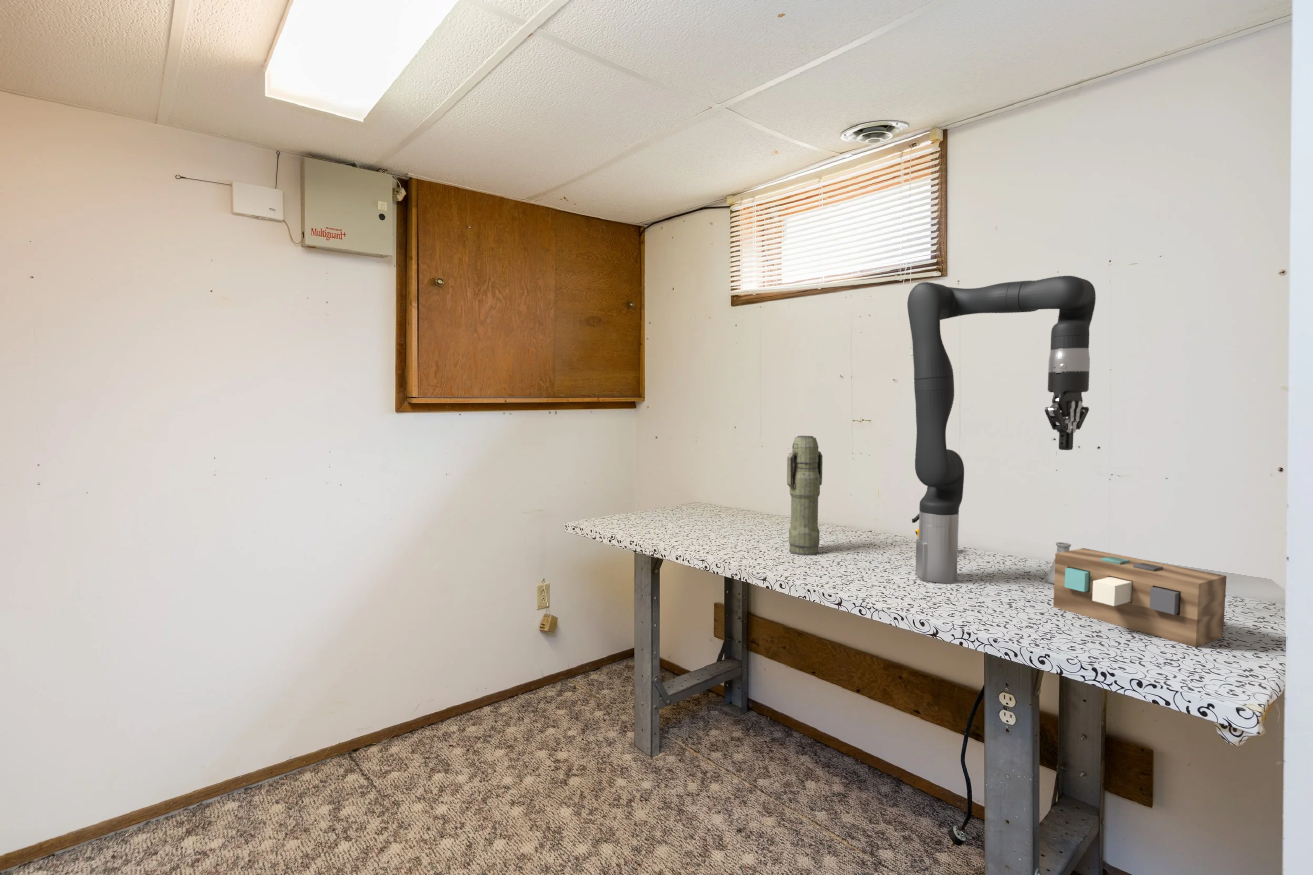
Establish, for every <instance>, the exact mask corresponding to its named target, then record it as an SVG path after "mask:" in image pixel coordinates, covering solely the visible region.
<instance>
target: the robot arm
mask: <svg viewBox="0 0 1313 875" xmlns="http://www.w3.org/2000/svg"><path fill="white" fill-rule="evenodd" d="M1096 300H1097V296H1096V288H1095V286H1094V285H1093V283H1092V282H1091V281H1090V280H1088V279H1085V278H1082V277H1078V276H1076V275H1059V276H1053V277H1052V276H1051V277H1046V278H1042V279H1037V280H1021V281H1020V280H1019V281H1018V280H1017V281H1009V282H1001V283H995V284H990V285H986V286H981V287H974V288H961V287H960V288H959V287H951V286H946V285H944V284H940V283H935V282H928V281H923V282H919V283H917V284H915V285H914V286H913V287H912V288H911V290H910V292H909V294H908V298H907V302H906V304H907V313H908V314H907V315H908V320H909V327H910V333H911V340H912V341H911V342H912V360H913V380H914V381H913V385H914V386H913V387H914V389H913V390H914V401H915V422H916V423H915V424H916V439H915V440H916V441H915V442H916V443H915V455H914V456H915V458H914V470H915V474H916V477H917V479H918V480H919V482H921V484H923V485H925V486H927V488H926V492H925V494H923V495H924V496H922V498H921V499H920V501H919V508H918V509H919V513H918V514H919V520H918V521H919V522H918V529H919V538H916V540H915V576H916V577H917V578H918V579H920V580H921V581H923V582H924V581H925V582H931V583H938V584H939V583H940V584H950V583H956V582H957V581H958V561H959V560H958V558H959V556H958V555H959V553H958V552H959V550H958V549H959V526H960V525H959V523H960V522H959V519H960V515H959V514H960V506H961V504H962V500H963V496H964V484H965V483H964V482H965V465H964V462H963V459H962V456H961V455H960V454H959V453H958V452H956V451H954V450H952V449H949V448H947V439H946V438H947V437H946V435H947V426H948V420H949V418H950V414H951V411H952V409H953V404H954V400H955V381H954V380H955V378H954V377H955V376H954V369H953V366H952V362H951V360H950V357H949V354H948V353H947V350H946V348H945V345H944V342H943V339H942V334H941V321H942V320H947V319H950V318H952V319H953V318H956V317H961V316H968V315H974V314H976V315H977V314H1013V313H1015V314H1016V313H1031V312H1036V311H1038V310H1059V311H1058V316H1057V317H1058V318H1057V322H1056V323H1055V324H1054V325H1053V326H1052V328H1051V331H1050V332H1051V333H1050V351H1049V357H1048V369H1047V371H1048V372H1047V391H1048V392H1049V393H1053V396H1052V399H1051V402H1052V404H1051V405H1050V406H1046V407H1045V408H1044V413H1045V415H1046V417H1047V420H1048V422H1049V424H1050V426H1051V429H1052V430H1054V431H1056V433H1058V450H1060V451H1072V450H1073V449H1074V448H1073V447H1074V434H1075V433H1076V432H1077V430H1078V431H1079V430H1081V429H1082V425H1083V423H1084V422H1085V420H1086V417H1087V415H1088V413H1089V412H1090V408H1089V406H1084V405H1083V395H1082V393H1087V392H1088V391H1089V390H1090V386H1089V385H1090V364H1091V362H1090V360H1091V359H1090V326H1091V323H1092V319H1093V315H1094V312H1095V306H1096Z"/></svg>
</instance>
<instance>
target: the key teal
mask: <svg viewBox="0 0 1313 875" xmlns="http://www.w3.org/2000/svg"><path fill="white" fill-rule="evenodd" d="M1065 587H1066V588H1070V589H1074V590H1078V591H1082V592H1086V591H1090V571H1087V570H1082V569H1078V568H1073V567H1071V568H1067V569H1065Z"/></svg>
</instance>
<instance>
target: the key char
mask: <svg viewBox="0 0 1313 875" xmlns="http://www.w3.org/2000/svg"><path fill="white" fill-rule="evenodd" d="M1180 599H1181V591H1176V590H1172V589H1167V588H1163V587H1158V586H1157V587H1153V588H1151V590H1150V609H1154V610H1158V611H1162V612H1166V613H1170V614H1178V613H1180Z"/></svg>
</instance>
